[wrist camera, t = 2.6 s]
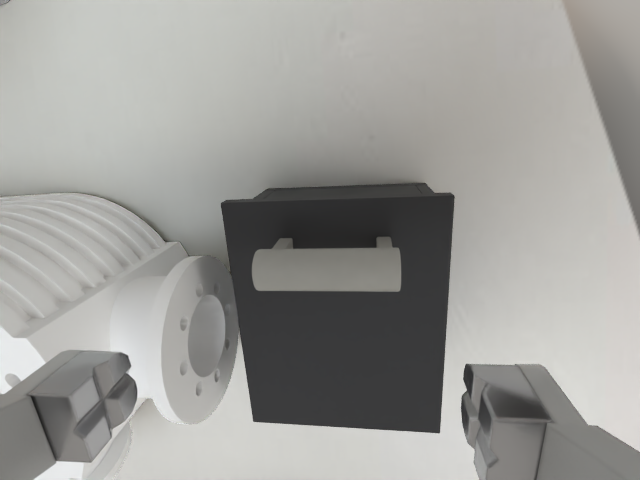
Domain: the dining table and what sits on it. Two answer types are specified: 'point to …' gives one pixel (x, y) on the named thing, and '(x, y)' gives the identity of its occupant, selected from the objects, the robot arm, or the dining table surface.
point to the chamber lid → (343, 307)
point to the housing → (113, 309)
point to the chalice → (3, 1)
